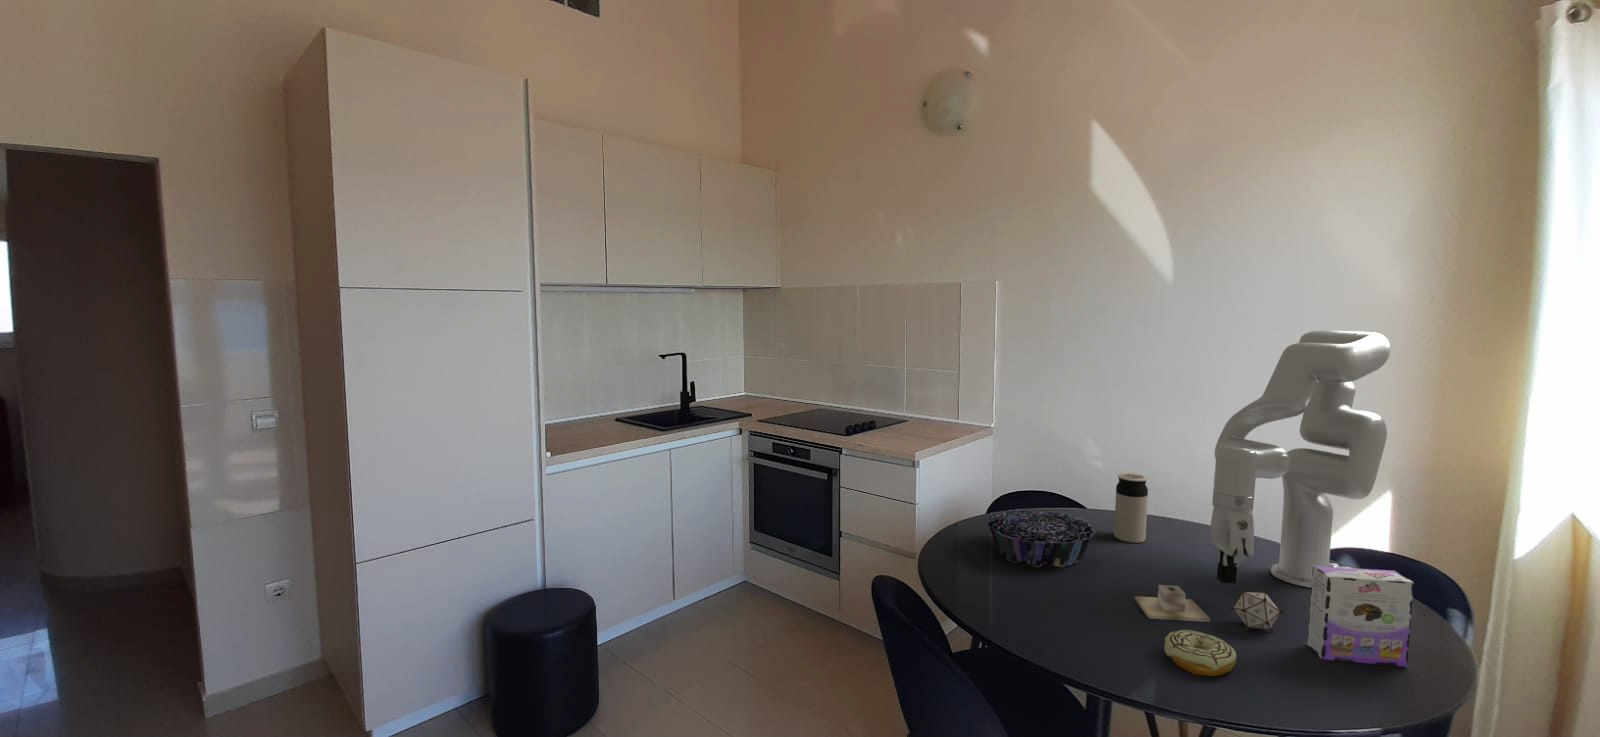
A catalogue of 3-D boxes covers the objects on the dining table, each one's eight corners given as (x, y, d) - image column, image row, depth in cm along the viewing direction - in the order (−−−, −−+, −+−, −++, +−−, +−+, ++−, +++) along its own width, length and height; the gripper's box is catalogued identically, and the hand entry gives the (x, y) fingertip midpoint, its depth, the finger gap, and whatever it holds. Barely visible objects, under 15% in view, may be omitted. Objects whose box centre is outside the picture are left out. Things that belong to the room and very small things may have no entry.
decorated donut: (1155, 663, 125) (1156, 642, 124) (1175, 640, 133) (1176, 620, 132) (1225, 687, 117) (1226, 665, 116) (1241, 661, 125) (1243, 640, 124)
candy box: (1388, 652, 127) (1395, 569, 126) (1408, 668, 122) (1416, 582, 120) (1305, 644, 131) (1311, 563, 129) (1321, 660, 125) (1328, 575, 123)
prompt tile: (1191, 602, 148) (1192, 581, 148) (1210, 622, 139) (1211, 599, 139) (1134, 599, 150) (1135, 578, 150) (1149, 618, 141) (1150, 596, 141)
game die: (1263, 650, 135) (1283, 627, 129) (1218, 624, 140) (1236, 601, 133) (1276, 618, 140) (1296, 594, 133) (1232, 594, 144) (1250, 570, 138)
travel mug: (1150, 543, 184) (1154, 480, 182) (1122, 543, 184) (1124, 480, 182) (1136, 533, 192) (1139, 472, 190) (1109, 533, 192) (1111, 472, 190)
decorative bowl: (978, 542, 191) (976, 509, 190) (1075, 536, 190) (1074, 502, 189) (1001, 580, 166) (999, 541, 165) (1114, 572, 164) (1113, 534, 163)
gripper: (1270, 512, 138) (1262, 597, 140) (1234, 492, 153) (1228, 570, 155) (1231, 509, 139) (1224, 594, 141) (1199, 490, 154) (1193, 567, 156)
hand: (1226, 581), depth 148 cm, fingers closed
